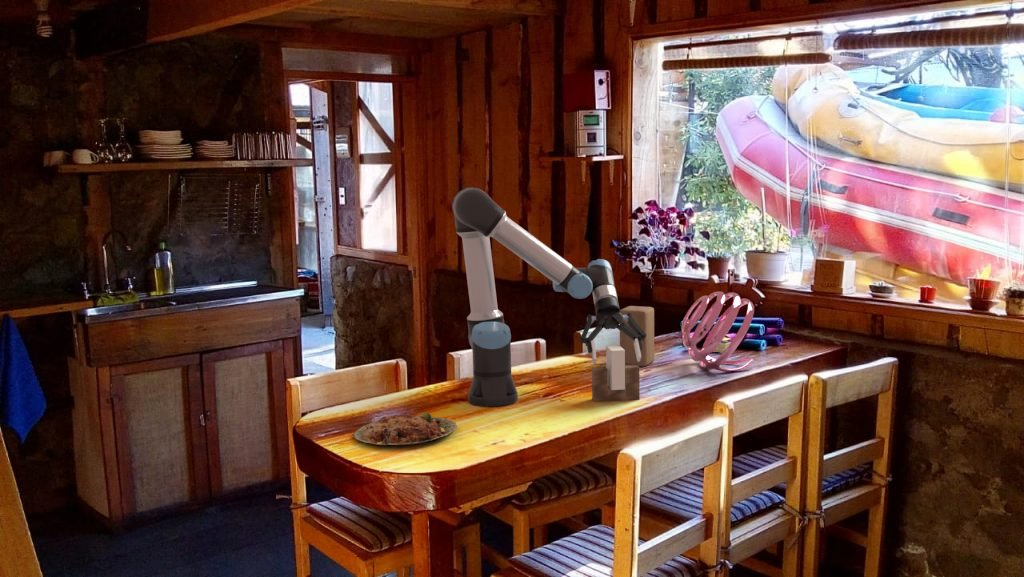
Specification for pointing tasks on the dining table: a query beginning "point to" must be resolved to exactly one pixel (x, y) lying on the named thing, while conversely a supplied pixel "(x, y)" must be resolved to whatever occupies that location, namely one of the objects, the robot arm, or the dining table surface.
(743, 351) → the dining table surface
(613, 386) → the cream plate
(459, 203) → the robot arm
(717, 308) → the pink openwork looped piece
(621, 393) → the slotted walnut plate
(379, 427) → the rice dish
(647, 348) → the wooden block
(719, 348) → the stacked layers on plate
